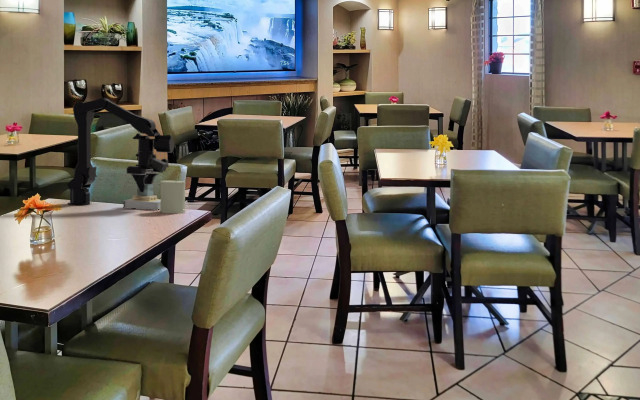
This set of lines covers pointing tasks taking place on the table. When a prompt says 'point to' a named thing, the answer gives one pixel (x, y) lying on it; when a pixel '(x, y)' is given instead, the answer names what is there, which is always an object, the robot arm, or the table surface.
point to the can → (172, 197)
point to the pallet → (145, 193)
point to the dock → (142, 204)
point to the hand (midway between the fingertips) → (145, 191)
